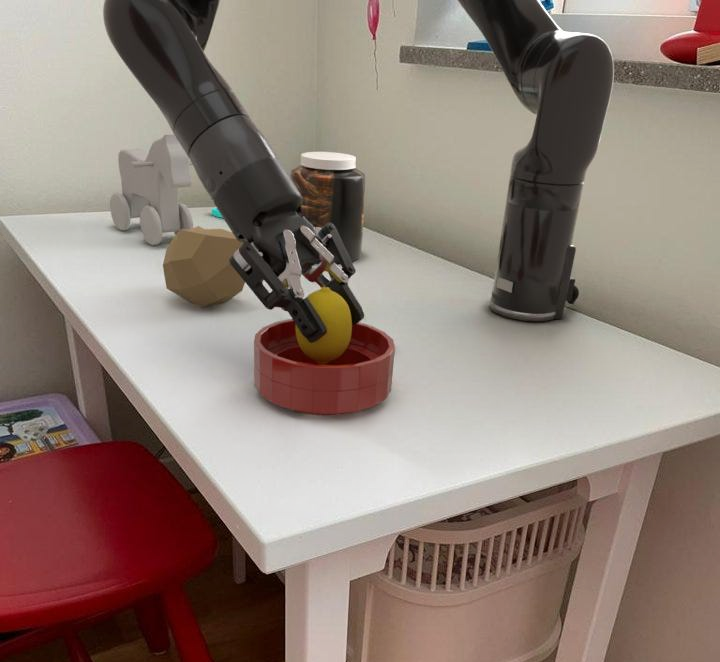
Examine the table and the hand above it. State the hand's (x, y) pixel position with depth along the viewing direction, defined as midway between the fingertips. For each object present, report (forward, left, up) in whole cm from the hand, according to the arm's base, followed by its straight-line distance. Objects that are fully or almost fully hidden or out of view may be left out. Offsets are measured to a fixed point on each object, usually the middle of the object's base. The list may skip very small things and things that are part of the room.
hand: (338, 329), depth 75 cm
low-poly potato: (+16, -30, -7) cm, 35 cm away
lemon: (+1, -1, -4) cm, 5 cm away
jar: (0, -55, -7) cm, 55 cm away
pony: (+28, -61, -7) cm, 68 cm away
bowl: (+1, -1, -7) cm, 7 cm away
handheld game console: (+12, -78, -7) cm, 79 cm away
